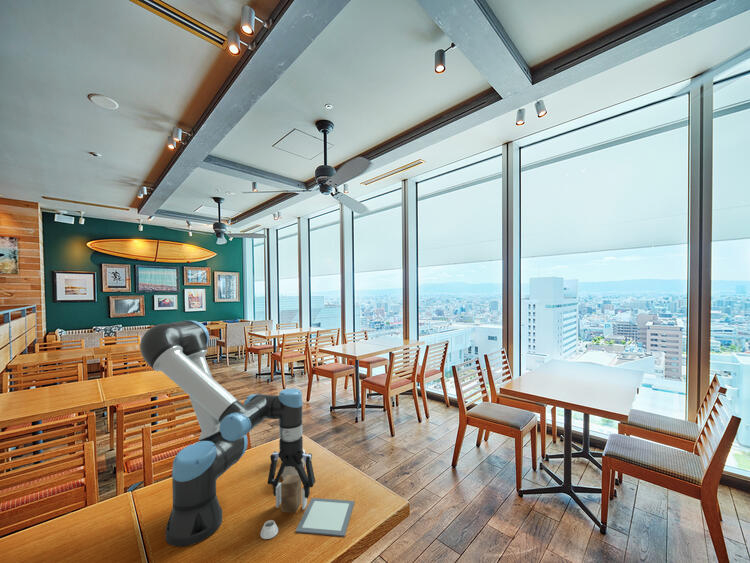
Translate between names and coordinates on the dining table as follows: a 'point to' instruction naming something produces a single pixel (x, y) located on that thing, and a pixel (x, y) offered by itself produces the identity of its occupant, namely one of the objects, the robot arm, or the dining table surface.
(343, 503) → the coaster
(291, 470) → the teacup with lid
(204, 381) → the robot arm
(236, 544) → the dining table surface
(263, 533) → the lidless jar
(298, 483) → the block
